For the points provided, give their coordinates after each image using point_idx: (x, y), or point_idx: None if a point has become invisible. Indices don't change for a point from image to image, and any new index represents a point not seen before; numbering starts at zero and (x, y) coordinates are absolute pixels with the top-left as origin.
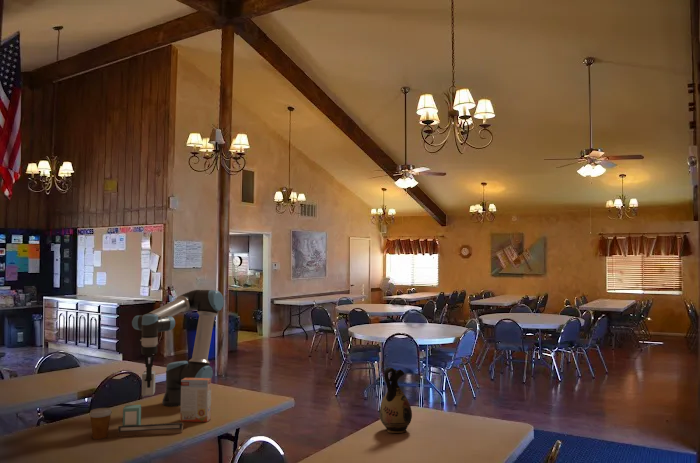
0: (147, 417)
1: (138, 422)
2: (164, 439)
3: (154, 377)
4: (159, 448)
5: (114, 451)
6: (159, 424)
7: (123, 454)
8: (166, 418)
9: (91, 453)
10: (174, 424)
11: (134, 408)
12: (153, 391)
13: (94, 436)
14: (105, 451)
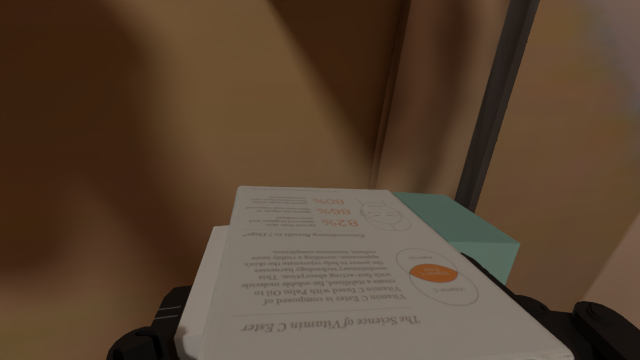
0: (164, 171)
1: (464, 208)
2: (551, 82)
3: (387, 285)
4: (637, 101)
5: (578, 239)
6: (505, 108)
7: (619, 211)
8: (207, 67)
9: (559, 294)
10: (527, 28)
11: (509, 264)
12: (398, 200)
13: None
14: (564, 263)
